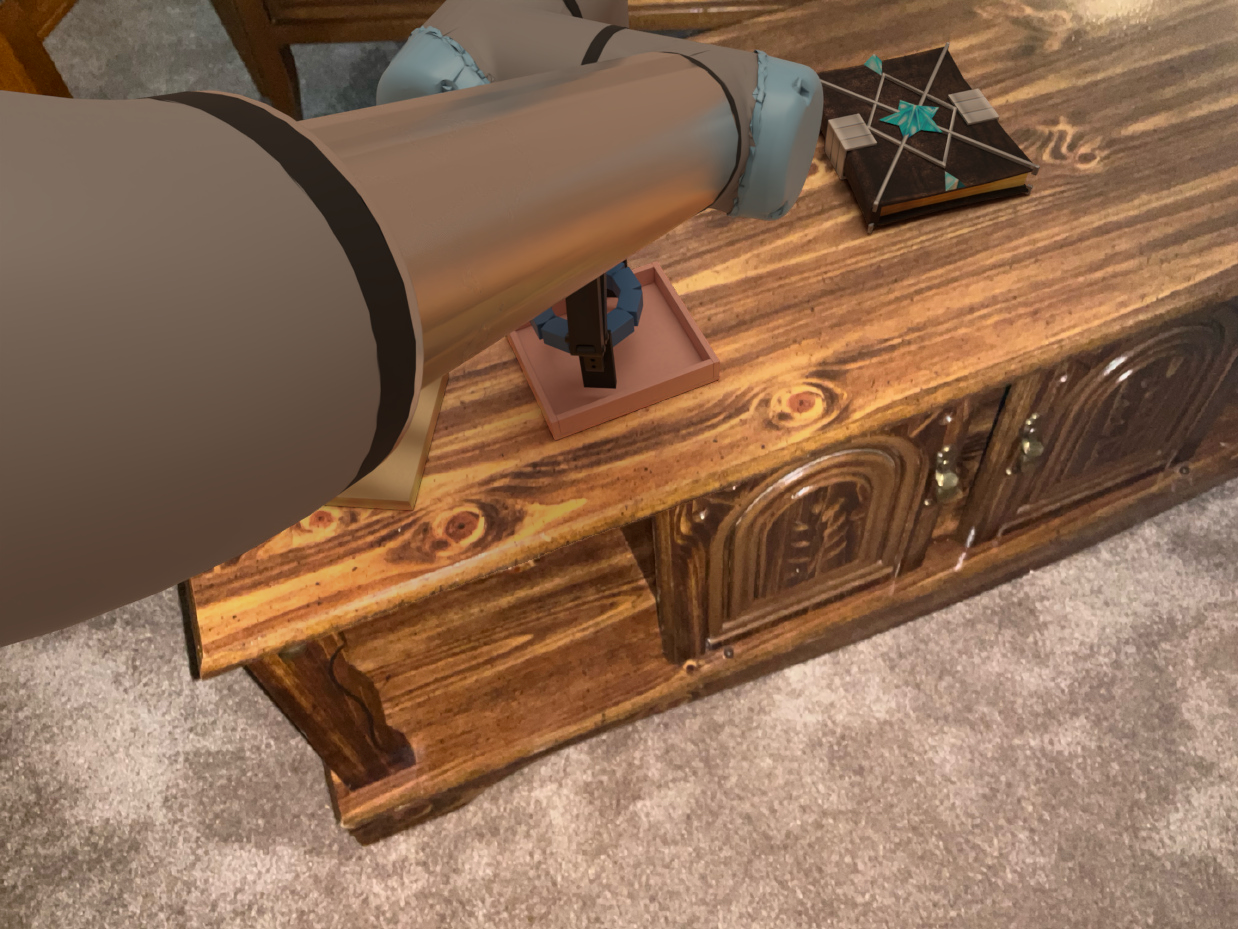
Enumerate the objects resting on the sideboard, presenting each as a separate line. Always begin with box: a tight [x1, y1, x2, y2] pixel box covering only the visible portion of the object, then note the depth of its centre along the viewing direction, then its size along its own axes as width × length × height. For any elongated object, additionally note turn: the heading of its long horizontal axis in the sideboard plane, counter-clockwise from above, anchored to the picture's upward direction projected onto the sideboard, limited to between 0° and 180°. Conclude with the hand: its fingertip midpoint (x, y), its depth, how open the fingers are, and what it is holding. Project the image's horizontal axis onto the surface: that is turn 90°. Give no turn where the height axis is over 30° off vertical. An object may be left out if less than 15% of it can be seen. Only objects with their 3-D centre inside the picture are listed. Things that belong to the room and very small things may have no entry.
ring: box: [529, 262, 643, 353], centre depth 80 cm, size 9×10×2 cm
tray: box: [506, 260, 721, 441], centre depth 84 cm, size 15×13×2 cm
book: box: [815, 41, 1041, 234], centre depth 95 cm, size 22×17×5 cm
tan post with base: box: [324, 373, 450, 511], centre depth 70 cm, size 14×14×30 cm
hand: (607, 338), depth 83 cm, fingers closed on ring, 9 cm apart
